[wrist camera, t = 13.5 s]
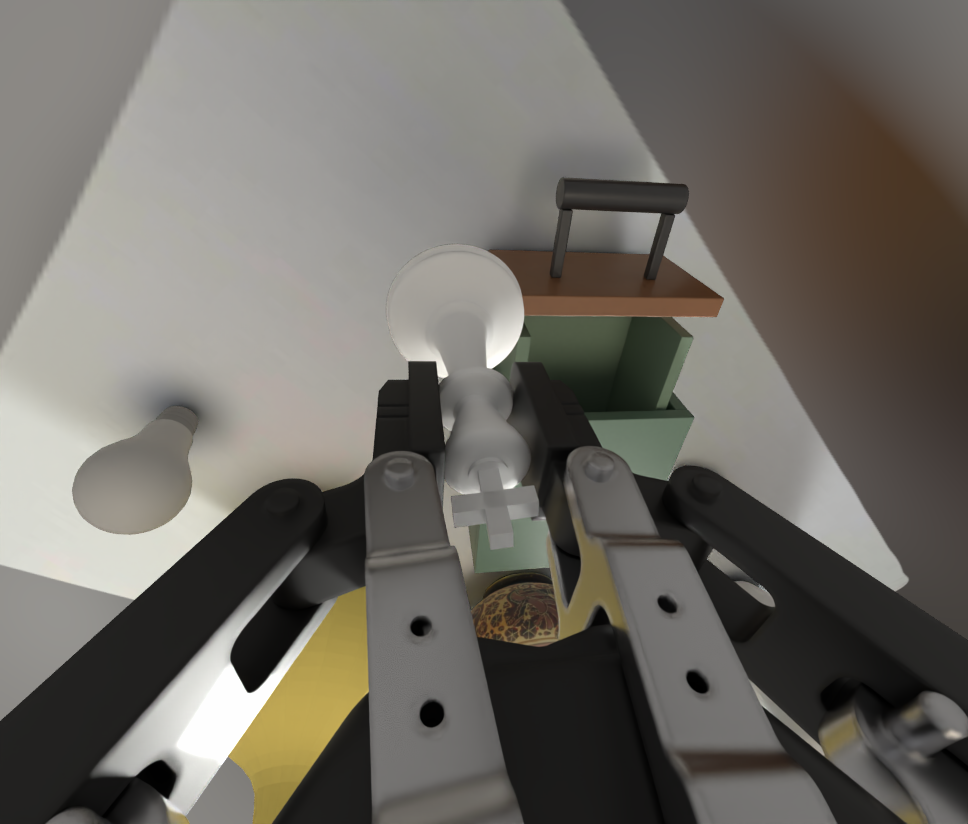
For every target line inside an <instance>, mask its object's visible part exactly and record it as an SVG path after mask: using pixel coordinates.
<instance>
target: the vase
mask: <svg viewBox="0 0 968 824" xmlns="http://www.w3.org/2000/svg"><path fill="white" fill-rule="evenodd" d="M368 692H369V684H368V651H367V617H366V586H364V587H362V588H359V589H356V590H354V591H351V592H349V593H346V594H343V595H341V596H338V598H337V600H336V602H335V604H334V605H333V607H332V608H331V610H330V611H329V613H328V614H327V615H326V617H325V618H324V620H323V621H322V622H321V624H320V625H319V627H318V628H317V630H316V631H315V632H314V634H313V635H312V637H311V638H310V640H309V641H308V642H307V644H306V645H305V647H304V648H303V650H302V651H301V652H300V654H299V655H298V657H297V658H296V660H295V661H294V662H293V664H292V665H291V667H290V668H289V670H288V671H287V672H286V674H285V675H284V677H283V678H282V680H281V681H280V682H279V684H278V685H277V687H276V688H275V690H274V691H273V692H272V694H271V695H270V697H269V698H268V700H267V701H266V702H265V704H264V705H263V707H262V708H261V710H260V711H259V712H258V714H257V715H256V717H255V718H254V720H253V721H252V722H251V724H250V725H249V727H248V728H247V730H246V731H245V732H244V734H243V735H242V737H241V738H240V739H239V741H238V742H237V744H236V745H235V747H234V748H233V749H232V751H231V752H230V754H229V755H228V757H230V758H231V759H232V760H233V761H234V762H235V763H236V764H238V765H239V766H240V767H241V768H242V769H243V770H244V771H245V773H246V774H247V776H248V777H249V779H250V780H251V783H252V786H253V790H254V793H255V799H254V815H253V824H272V822H273V821H274V820H275V818H276V817H277V815H278V814H279V812H280V811H281V810H282V808H283V807H284V805H285V804H286V802H287V801H288V800H289V798H290V797H291V795H292V794H293V792H294V791H295V790H296V788H297V787H298V785H299V784H300V782H301V781H302V780H303V778H304V777H305V775H306V774H307V772H308V771H309V770H310V768H311V767H312V765H313V764H314V762H315V761H316V760H317V758H318V757H319V755H320V754H321V752H322V751H323V750H324V748H325V747H326V745H327V744H328V742H329V741H330V740H331V738H332V737H333V735H334V734H335V732H336V731H337V730H338V728H339V727H340V725H341V724H342V722H343V721H344V720H345V718H346V717H347V716H348V714H349V713H350V712H351V710H352V709H353V708H354V707H355V706H356V705H357V703H358V702H359V701H360V700H361V699H362V698H363V697H364V696H365V695H366V694H367V693H368Z"/></svg>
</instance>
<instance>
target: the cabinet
mask: <svg viewBox="0 0 968 824" xmlns="http://www.w3.org/2000/svg"><path fill="white" fill-rule="evenodd" d="M584 415H586V417H587V419H588V421H589V422H590V424H591V426H592V428H593V430H594V432H595V434H596V436H597V438H598V440H599V442H600V444H601V445H602V447H603V448H605V449H608V450H610V451H612V452H614V453H616V454H618V455H619V456H620V457H622V458H623V459H624V460H625V461H626V462H627V464H628V465H629V467H630V469H631V471H632V473H635V474H638V475H642V476H646V477H651V478H656V479H661V480H666V481H667V479H668V476H669V474H670V472H671V469H672V467H673V465H674V463H675V460H676V458H677V456H678V454H679V451H680V449H681V447H682V445H683V442H684V440H685V438H686V435H687V433H688V431H689V429H690V426H691V424H692V422H693V420H694V416H693V415H692V414H691V413H690V412H689V410H687V408H686V407H685V406H684V405H683V404H682V402H681V401H680V400H679V399H678V398H677V396H676V395H675V394H674V393H673V392H672V395H671V397H670V400H669V402H668V405H667V407H666V410H657V411H619V412H584ZM517 487H522V484H521V481H520V482H519V483H518V484H517V485H516V486H515V487H513V488H517ZM511 524H512V529H513V547H508V548H501V549H494V550H491V549H490V543H489V538H488V532H487V526H486V523H485V524H478V525H471V526H469V534H470V541H471V549H472V556H473V563H474V571H475V573H486V572H498V571H511V570H523V569H536V568H548V567H549V561H548V556H547V550H546V538H547V534H548V530H549V528H548V525H547V522H546V520H540V521H532V519H531V517H528V518H521V519H514V520H511Z"/></svg>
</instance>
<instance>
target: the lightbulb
mask: <svg viewBox="0 0 968 824" xmlns="http://www.w3.org/2000/svg"><path fill="white" fill-rule="evenodd" d="M198 422H199V421H198V418H197V416H196V415H195V413H194V412H192V411H191V410H189V409H188V408H185V407H181V406H171V407H168V408H166V409H165V410H164V411H163V412H162V413H161V414H160V415H159V416H158V417H157V419H156V420H155V421H152V422H150V423H149V424H148V425H147V426H146V427H145V428H144V429H143V430H142V431H141V432H140V433H138V434H137V435H135V436H133V437H131V438H128V439H125V440H121V441H118V442H116V443H113V444H111V445H108V446H106V447H103V448H101V449H100V450H99V451H97V452H96V453H94V454H93V455H91V456H90V457H89V458H87V460H86V461H85V462H84V463H83V464H82V466H81V467H80V468H79V470H78V472H77V474H76V476H75V479H74V483H73V488H72V494H73V500H74V504H75V506H76V508H77V510H78V512H79V514H80V515H81V516H82V518H83V519H85V520H86V521H87V522H88V523H90V524H91V525H93V526H95V527H96V528H98V529H100V530H103V531H106V532H110V533H115V534H128V535H131V534H139V533H144V532H147V531H151V530H153V529H156V528H158V527H160V526H162V525H164V524H166V523H167V522H169V521H170V520H172V519H173V518H174V517H175V516H176V515H177V514H178V513H179V512H180V511H181V510H182V509H183V507H184V506H185V504H186V503H187V501H188V499H189V496H190V494H191V488H192V476H191V471H190V466H189V463H188V453H189V450H190V447H191V445H192V443H193V435H194V433H195V431H196V429H197V426H198Z"/></svg>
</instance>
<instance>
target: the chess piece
mask: <svg viewBox="0 0 968 824" xmlns="http://www.w3.org/2000/svg"><path fill="white" fill-rule="evenodd" d="M386 316H387V322H388V326H389V330H390V334H391V337H392V340H393V342H394V344H395V346H396V347H397V349H398V350H399V352H400V353H401V354H402V356H403V357H404V358H405V359H406V360H407V361H408V362H409V361H436V364H437V374H438V377H441V378H444V379H443V380H442V381H441V383H440V384H439V393H440V403H441V413H442V423H443V426H444V427H445V428H446V429H448V430H449V431H451V435H450V437H449V439H448V440H447V442H446V445H445V467H444V479H445V481H446V482H447V483H448V485H449V486H450V487H452V488H453V489H454V490H456V491H457V492H459V493H462V494H464V495H458V496H451V502H452V512H453V519H454V527H455V528H457V527H464V526H471V525H478V524H485V523H486V526H487V532H488V538H489V543H490V549H491V550H494V549H501V548H508V547H513V529H512V524H511V520H514V519H521V518H528V517H535V516H538V513H539V500H538V497H537V493H536V490H535V487H534V485H532V486H525V487H517V488H513V487H515V486H516V485H517V484H518V483H519V482H520V481H521V480H522V479H523V478H524V477H525V475H526V474H527V472H528V470H529V467H530V463H531V453H530V449H529V447H528V445H527V443H526V441H525V440H524V438H523V437H522V436H521V435H520V434H519V433H518V431H517V430H516V429H515V428H514V427H512V426H511V425H510V424H509V423H508V422H507V421H506V420H507V419H508V417H509V415H510V413H511V411H512V407H513V395H514V394H513V389H512V387H511V384H510V383H509V381H508V380H507V379H506V378H505V377H504V376H503V375H502V374H501V373H499V372H497V371H495V370H493V369H492V368H493V367H495V366H496V365H498V364H499V363H500V362H501V361H503V360H504V359H505V358H506V357H507V356H508V354H509V353H510V352H511V351H512V349H513V348H514V346H515V345H516V343H517V341H518V339H519V337H520V334H521V331H522V327H523V322H524V305H523V298H522V293H521V289H520V286H519V284H518V281H517V279H516V278H515V276H514V274H513V273H512V271H511V270H510V269H509V267H508V266H507V265H506V264H505V263H504V262H503V261H502V260H500V259H499V258H498V257H496V256H495V255H493V254H492V253H490V252H488V251H486V250H484V249H481V248H478V247H475V246H471V245H465V244H447V245H441V246H437V247H434V248H431V249H428V250H426V251H424V252H422V253H420V254H418V255H417V256H415V257H414V258H412V259H411V260H410V261H409V262H408V263H407V264H405V266H404V267H403V268H402V269H401V270H400V271H399V273H398V274H397V275H396V277H395V279H394V281H393V282H392V285H391V287H390V290H389V293H388V297H387V303H386Z"/></svg>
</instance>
